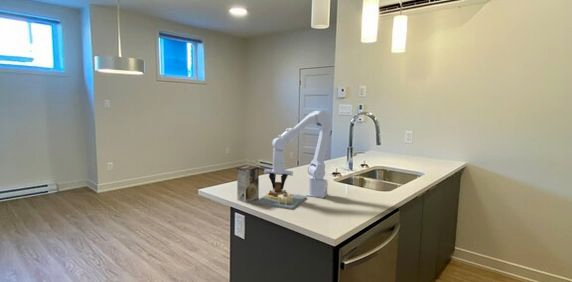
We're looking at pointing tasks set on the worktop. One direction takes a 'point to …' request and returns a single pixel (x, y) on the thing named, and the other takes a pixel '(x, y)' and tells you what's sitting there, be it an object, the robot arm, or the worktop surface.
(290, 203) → the carrier plate
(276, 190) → the planet gear
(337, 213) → the worktop surface
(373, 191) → the worktop surface
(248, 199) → the coffee box
